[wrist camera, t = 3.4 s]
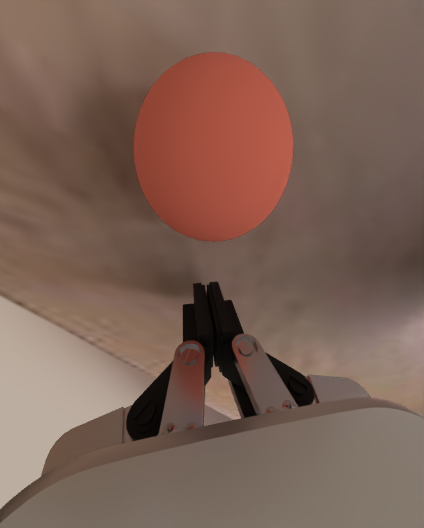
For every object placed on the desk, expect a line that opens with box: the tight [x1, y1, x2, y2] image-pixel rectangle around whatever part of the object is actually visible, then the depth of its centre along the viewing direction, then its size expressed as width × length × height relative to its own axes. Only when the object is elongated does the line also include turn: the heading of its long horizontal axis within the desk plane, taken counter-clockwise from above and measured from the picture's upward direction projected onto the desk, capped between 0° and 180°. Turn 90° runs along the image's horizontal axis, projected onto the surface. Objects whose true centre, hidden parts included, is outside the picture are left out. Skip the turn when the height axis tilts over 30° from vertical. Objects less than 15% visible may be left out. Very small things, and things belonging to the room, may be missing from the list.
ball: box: [134, 52, 293, 242], centre depth 6 cm, size 6×6×6 cm
